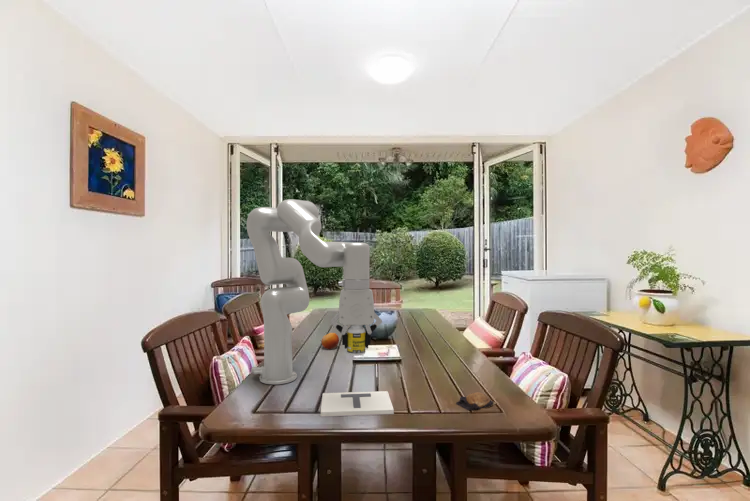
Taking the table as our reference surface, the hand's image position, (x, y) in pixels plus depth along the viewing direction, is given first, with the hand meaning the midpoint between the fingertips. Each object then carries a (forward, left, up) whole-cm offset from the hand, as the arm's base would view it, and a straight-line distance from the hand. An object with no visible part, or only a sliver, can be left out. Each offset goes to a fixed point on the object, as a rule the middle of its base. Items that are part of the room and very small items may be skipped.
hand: (356, 346), depth 117 cm
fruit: (-9, +65, -17) cm, 68 cm away
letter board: (0, 0, -17) cm, 17 cm away
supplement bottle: (0, 0, -2) cm, 2 cm away
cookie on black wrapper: (+35, -2, -18) cm, 39 cm away
